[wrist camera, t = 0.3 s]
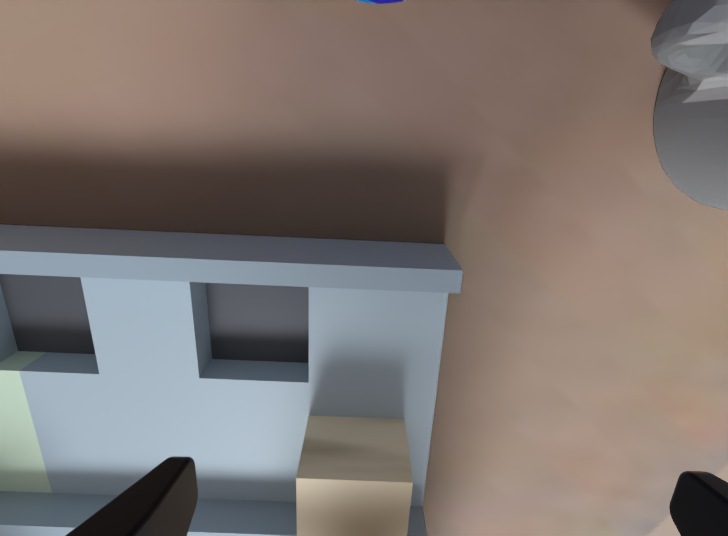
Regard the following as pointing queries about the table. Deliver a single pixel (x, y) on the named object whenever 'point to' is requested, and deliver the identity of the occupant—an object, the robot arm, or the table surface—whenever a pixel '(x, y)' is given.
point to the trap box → (204, 365)
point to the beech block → (354, 477)
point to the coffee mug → (694, 98)
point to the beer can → (380, 1)
